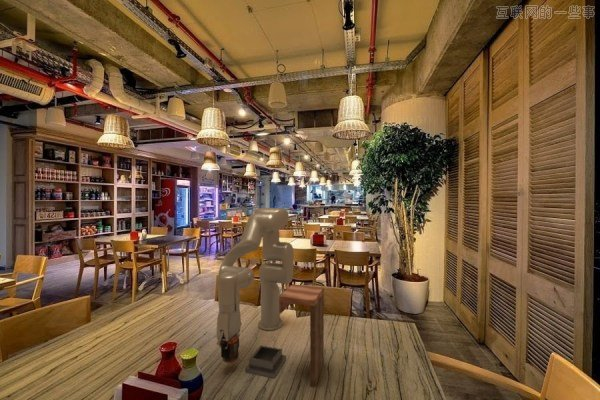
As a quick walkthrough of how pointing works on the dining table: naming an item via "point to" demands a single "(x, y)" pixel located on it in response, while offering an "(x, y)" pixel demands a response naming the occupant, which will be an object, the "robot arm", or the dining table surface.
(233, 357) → the supplement bottle
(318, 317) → the wooden inverted l post
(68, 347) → the dining table surface
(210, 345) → the dining table surface
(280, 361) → the socket
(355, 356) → the dining table surface
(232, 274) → the robot arm
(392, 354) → the dining table surface
